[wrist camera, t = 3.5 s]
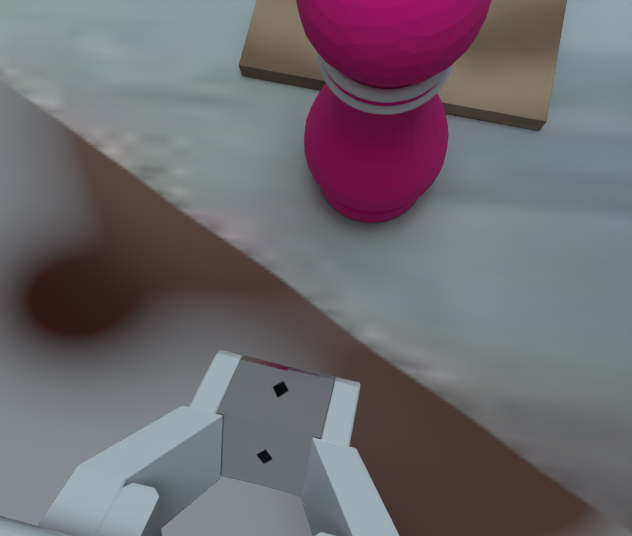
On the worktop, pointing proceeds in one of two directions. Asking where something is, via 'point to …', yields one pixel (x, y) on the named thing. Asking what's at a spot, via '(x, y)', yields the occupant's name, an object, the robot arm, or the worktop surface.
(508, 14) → the walnut board
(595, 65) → the worktop surface
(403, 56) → the pepper mill
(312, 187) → the worktop surface
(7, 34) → the worktop surface
